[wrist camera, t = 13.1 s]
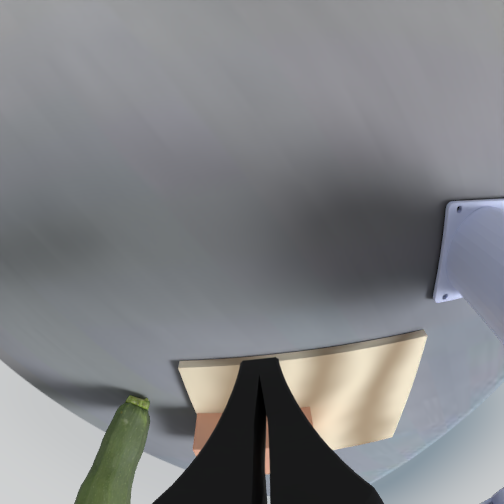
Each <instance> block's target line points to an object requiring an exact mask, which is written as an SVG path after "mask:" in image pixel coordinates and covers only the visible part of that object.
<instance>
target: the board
mask: <svg viewBox="0 0 504 504" xmlns="http://www.w3.org/2000/svg"><path fill="white" fill-rule="evenodd" d="M426 339H427V334H426V333H425V331H424V330H420V331H415V332H411V333H406V334H401V335H397V336H392V337H387V338H381V339H376V340H371V341H365V342H359V343H353V344H347V345H341V346H335V347H328V348H321V349H314V350H306V351H298V352H290V353H282V354H272V355H262V356H252V357H240V358H226V359H211V360H191V361H180V362H179V366H178V369H179V372H180V374H181V377H182V380H183V382H184V385H185V387H186V390H187V392H188V395H189V397H190V400H191V402H192V404H193V407H194V409H195V412H196V414H197V413H223V411H224V409H225V407H226V405H227V402H228V400H229V398H230V395H231V393H232V390H233V387H234V385H235V382H236V379H237V375H238V372H239V368H240V363H241V362H242V361H243V360H253V359H263V358H272V357H276V358H278V359H279V363H280V367H281V370H282V373H283V375H284V378H285V380H286V382H287V384H288V387H289V389H290V391H291V392H292V394H293V396H294V398H295V400H296V402H297V403H298V405H299V407H300V408H302V407H310V410H311V416H312V422H313V427H314V429H315V430H316V431H317V433H318V434H319V435H320V437H321V438H322V439H323V440H324V441H325V442H326V444H327V445H328V446H329V447H330V448H331V449H332V450H336V449H341V448H346V447H352V446H356V445H361V444H366V443H370V442H374V441H379V440H383V439H387V438H390V437H392V436H393V434H394V432H395V429H396V427H397V424H398V422H399V419H400V417H401V414H402V412H403V409H404V407H405V404H406V401H407V399H408V396H409V393H410V390H411V387H412V384H413V381H414V379H415V376H416V372H417V369H418V366H419V363H420V360H421V356H422V353H423V350H424V346H425V343H426Z"/></svg>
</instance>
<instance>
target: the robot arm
mask: <svg viewBox="0 0 504 504" xmlns="http://www.w3.org/2000/svg"><path fill="white" fill-rule="evenodd" d="M458 206H459V210H458V211H457V207H458ZM444 294H445V295H444ZM443 295H444V296H443ZM458 298H464V299H465V300H466V301H467V302H468V303H469V304H470V306H471V307H472V308H473V309H474V310H475V311H476V312H477V313H478V315H479V316H480V317H481V318H482V319H483V320H484V322H485V323H486V324H487V325H488V326H489V328H490V329H491V330H492V331H493V332H494V334H495V335H496V336H497V337H498V338H499V340H500V341H501V342H502V343H503V345H504V199H484V200H465V201H451V202H449V203H448V204H447V206H446V212H445V222H444V231H443V239H442V246H441V253H440V260H439V266H438V272H437V278H436V283H435V288H434V293H433V300H434V301H435V302H436V303H440V302H445V301H449V300H454V299H458ZM266 421H268V435H269V459H270V501H271V502H270V503H271V504H384V503H383V501H382V499H381V498H380V496H379V494H378V493H377V492H376V490H375V488H374V487H373V486H371V485H370V484H369V483H368V482H366V481H365V480H364V479H362V478H361V477H360V476H359V475H358V474H356V473H355V472H354V471H353V470H352V469H351V468H350V467H349V466H348V465H346V464H345V463H344V462H343V461H342V460H341V459H340V458H339V457H338V455H337V454H336V453H335V452H334V451H333V450H332V449H331V448H330V447H329V446H328V445H327V444H326V442H325V441H324V440H323V439H322V438H321V437H320V435H319V434H318V433H317V431H316V430H315V429H314V428H313V426H312V425H311V423H310V422H309V421H308V419H307V418H306V416H305V415H304V413H303V411H302V410H301V408H300V407H299V405H298V403H297V402H296V400H295V398H294V396H293V394H292V392H291V391H290V389H289V387H288V384H287V382H286V380H285V378H284V375H283V373H282V370H281V367H280V363H279V359H278V358H276V357H272V358H263V359H253V360H243V361H242V362H241V363H240V368H239V372H238V375H237V379H236V382H235V385H234V387H233V390H232V393H231V395H230V398H229V400H228V402H227V405H226V407H225V409H224V411H223V413H222V415H221V417H220V419H219V421H218V423H217V425H216V427H215V429H214V430H213V432H212V434H211V436H210V437H209V439H208V440H207V442H206V444H205V445H204V447H203V448H202V449H201V451H200V452H199V454H198V455H197V456H196V458H195V459H194V460H193V462H192V463H191V464H190V465H189V467H188V468H187V469H186V470H185V471H184V472H183V474H182V475H181V476H180V477H179V478H178V479H177V480H176V481H175V483H173V485H172V486H171V487H169V488H168V490H166V491H165V492H164V493H163V494H162V495H161V496H160V497H159V498H158V499H156V500H155V501H154V502H153V503H152V504H267V493H266V479H265V450H266ZM481 504H504V487H503V488H502V489H500V490H499V491H498V492H496V493H495V494H494V495H493V496H492V497H491V498H489V499H488V500H486V501H484V502H482V503H481Z"/></svg>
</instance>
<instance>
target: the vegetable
mask: <svg viewBox="0 0 504 504" xmlns="http://www.w3.org/2000/svg"><path fill="white" fill-rule="evenodd" d="M149 404H150V402H149V401H148V398H146V399H141V398H137V397H134V396H131V395H129V397H128V398H127V399H126V402H125V403H124V404H122V405H121V406H120V407H119V408H118V409H117V411H116V413H115V415H114V417H113V419H112V421H111V423H110V425H109V427H108V429H107V431H106V433H105V435H104V438H103V440H102V443H101V446H100V449H99V451H98V453H97V455H96V458H95V460H94V463H93V466H92V467H91V469H90V471H89V473H88V475H87V477H86V479H85V480H84V482H83V483H82V485H81V487H80V489H79V492H78V495H77V497H76V500H75V503H74V504H130V499H131V488H132V483H133V479H134V474H135V470H136V467H137V464H138V462H139V460H140V458H141V455H142V453H143V450H144V446H145V442H146V438H147V434H148V429H149V424H150V416H149V414H148V408H149Z"/></svg>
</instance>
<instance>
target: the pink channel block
mask: <svg viewBox="0 0 504 504" xmlns="http://www.w3.org/2000/svg"><path fill="white" fill-rule="evenodd" d="M301 410H302V411H303V413H304V415H305V416H306V418H307V419H308V421H309V422H310V423H311V425H312V426H313V422H312V416H311V410H310V407H302V408H301ZM221 415H222V413H197V420H196V428H195V436H194V444H193V451H194V453H195V455H196V456H197V455H198V454H199V452H200V451H201V449H202V448H203V447H204V445H205V444H206V442H207V440H208V439H209V437H210V436H211V434H212V432H213V430H214V429H215V427H216V425H217V423H218V421H219V419H220V417H221ZM313 428H314V427H313ZM265 474H270V459H269V435H268V421H266V450H265Z"/></svg>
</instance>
